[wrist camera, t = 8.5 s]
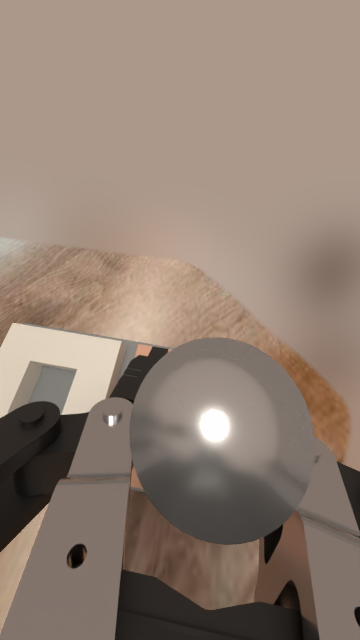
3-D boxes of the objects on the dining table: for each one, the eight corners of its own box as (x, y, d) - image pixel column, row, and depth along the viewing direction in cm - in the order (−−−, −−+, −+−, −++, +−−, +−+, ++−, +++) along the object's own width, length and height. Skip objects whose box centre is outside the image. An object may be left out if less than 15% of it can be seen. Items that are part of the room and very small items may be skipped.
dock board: (-32, 453, 23) (-67, 459, 19) (28, 325, 28) (8, 314, 25) (246, 509, 21) (259, 526, 18) (252, 363, 27) (263, 356, 23)
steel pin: (156, 447, 13) (105, 519, 4) (168, 384, 14) (151, 326, 5) (218, 459, 13) (321, 566, 4) (224, 394, 14) (309, 351, 5)
